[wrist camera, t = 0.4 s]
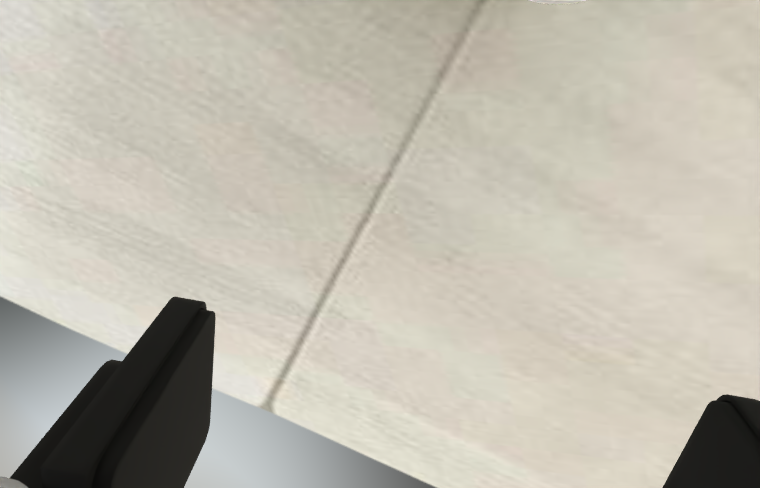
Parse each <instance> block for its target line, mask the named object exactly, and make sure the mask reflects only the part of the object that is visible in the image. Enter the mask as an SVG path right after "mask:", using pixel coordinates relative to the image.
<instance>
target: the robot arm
mask: <svg viewBox="0 0 760 488" xmlns="http://www.w3.org/2000/svg"><path fill="white" fill-rule="evenodd" d="M214 335H215V313H214V312H213V311H208V310H206V303H205V302H202V301H196V300H191V299H185V298H180V297H173V298H171V299H170V301H169V302H168V303H167V304H166V306H165V307H164V308H163V310H162V311H161V312H160V313H159V315H158V316H157V317H156V319H155V320H154V321H153V322H152V324H151V325H150V326H149V328H148V329H147V330H146V331H145V333H144V334H143V335H142V337H141V338H140V339H139V341H138V342H137V343H136V344H135V346H134V347H133V348H132V350H131V351H130V352H129V353H128V355H127V356H126V357H125V359H124V360H123V361H116V360H110V361H107V362H106V363H105V364H104V365H103V366H102V367H101V368H100V369H99V370H98V371H97V372H96V374H95V375H94V376H93V377H92V379H91V380H90V381H89V382H88V383H87V385H86V386H85V387H84V388H83V389H82V391H81V392H80V393H79V394H78V396H77V397H76V398H75V399H74V400H73V402H72V403H71V404H70V405H69V407H68V408H67V409H66V410H65V411H64V413H63V414H62V415H61V416H60V417H59V419H58V420H57V421H56V422H55V424H54V425H53V426H52V427H51V428H50V430H49V431H48V432H47V433H46V435H45V436H44V437H43V438H42V439H41V441H40V442H39V443H38V444H37V446H36V447H35V448H34V449H33V450H32V452H31V453H30V454H29V455H28V457H27V458H26V459H25V460H24V462H23V463H22V464H21V465H20V466H19V468H18V469H17V470H16V471H15V472H14V474H13V475H12V476H11V477H10V478H6V477H0V488H184V486H185V484H186V481H187V479H188V477H189V475H190V473H191V470H192V469H193V466H194V464H195V462H196V460H197V458H198V456H199V453H200V451H201V449H202V447H203V445H204V443H205V440H206V437H207V434H208V430H209V425H210V412H211V394H212V374H213V354H214ZM663 488H760V401H758V400H755V399H749V398H744V397H738V396H733V395H722V396H721V397H719V398H718V399H717V400H716V401H712V402H710V403H709V404H708V405H707V407H706V409H705V411H704V413H703V414H702V416H701V418H700V420H699V422H698V424H697V425H696V427H695V429H694V431H693V433H692V435H691V436H690V438H689V440H688V442H687V444H686V446H685V448H684V449H683V451H682V453H681V455H680V457H679V459H678V460H677V462H676V464H675V466H674V468H673V470H672V471H671V473H670V475H669V477H668V479H667V481H666V482H665V484H664V486H663Z"/></svg>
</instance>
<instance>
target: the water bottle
mask: <svg viewBox="0 0 760 488" xmlns="http://www.w3.org/2000/svg"><path fill="white" fill-rule="evenodd" d="M529 1H533V2H537V3H542V4H551V5H563V4H573V3H579V2H583V1H587V0H529Z"/></svg>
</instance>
